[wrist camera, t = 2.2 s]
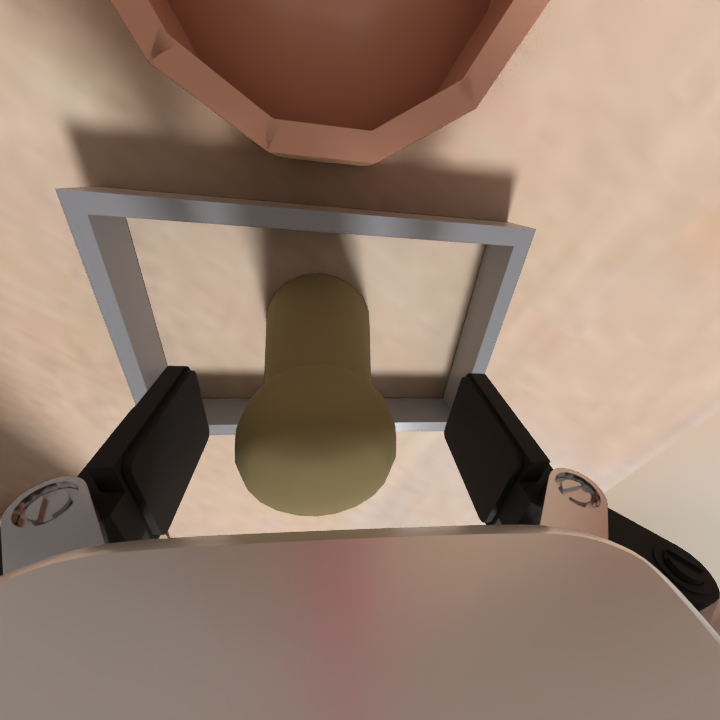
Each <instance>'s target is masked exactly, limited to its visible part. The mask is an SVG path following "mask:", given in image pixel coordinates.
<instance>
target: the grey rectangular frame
mask: <svg viewBox="0 0 720 720" xmlns="http://www.w3.org/2000/svg"><path fill="white" fill-rule="evenodd" d="M55 190H56V192H57V195H58V198H59V200H60V203H61V206H62V208H63V211H64V214H65V216H66V219H67V222H68V225H69V227H70V230H71V233H72V235H73V238H74V241H75V243H76V246H77V249H78V251H79V254H80V257H81V259H82V262H83V265H84V267H85V270H86V273H87V275H88V278H89V281H90V283H91V286H92V289H93V291H94V294H95V297H96V300H97V302H98V305H99V308H100V310H101V313H102V316H103V318H104V321H105V324H106V326H107V329H108V332H109V334H110V337H111V340H112V342H113V345H114V348H115V350H116V353H117V356H118V358H119V361H120V364H121V366H122V369H123V372H124V375H125V377H126V380H127V383H128V385H129V388H130V391H131V393H132V396H133V399H134V401H135V404H137V403H138V402H139V401H140V400H141V398H142V397H143V396H144V395H145V393H146V392H147V391H148V390H149V388H150V387H151V386H152V385H153V383H154V382H155V381H156V380H157V378H158V377H159V376H160V375H161V373H162V372H163V371H164V370H165V368H166V367H167V363H166V360H165V356H164V353H163V349H162V345H161V342H160V338H159V335H158V331H157V328H156V324H155V321H154V317H153V313H152V310H151V306H150V303H149V299H148V296H147V292H146V289H145V285H144V282H143V278H142V274H141V271H140V267H139V264H138V260H137V257H136V253H135V250H134V246H133V243H132V239H131V235H130V232H129V228H128V225H127V221H126V218H125V217H129V218H143V219H156V220H169V221H183V222H196V223H210V224H223V225H236V226H250V227H263V228H276V229H290V230H303V231H316V232H330V233H343V234H357V235H370V236H383V237H397V238H410V239H423V240H437V241H450V242H464V243H477V244H487V246H486V249H485V253H484V256H483V260H482V263H481V267H480V270H479V274H478V277H477V281H476V284H475V288H474V291H473V295H472V298H471V302H470V305H469V309H468V312H467V316H466V319H465V323H464V326H463V330H462V333H461V337H460V340H459V344H458V347H457V351H456V354H455V358H454V361H453V365H452V368H451V372H450V375H449V379H448V382H447V386H446V389H445V393H444V396H443V398H384V400H385V402H386V404H387V406H388V408H389V410H390V412H391V414H392V417H393V420H394V423H395V426H396V432H415V431H444V430H445V426H446V423H447V420H448V417H449V414H450V411H451V408H452V405H453V402H454V399H455V396H456V393H457V390H458V387H459V384H460V381H461V378H462V377H465V376H466V375H467V374H468V373H482V374H485V371H486V368H487V366H488V363H489V360H490V357H491V354H492V352H493V349H494V346H495V343H496V340H497V337H498V335H499V332H500V329H501V326H502V323H503V321H504V318H505V315H506V312H507V309H508V307H509V304H510V301H511V298H512V295H513V293H514V290H515V287H516V284H517V281H518V278H519V276H520V273H521V270H522V267H523V264H524V262H525V259H526V256H527V253H528V250H529V248H530V245H531V242H532V239H533V236H534V233H535V231H536V229H533V228H529V227H525V226H521V225H517V224H513V223H509V222H501V221H489V220H478V219H466V218H454V217H443V216H431V215H420V214H408V213H397V212H385V211H374V210H362V209H351V208H339V207H327V206H316V205H304V204H293V203H281V202H270V201H258V200H247V199H235V198H224V197H212V196H200V195H189V194H177V193H166V192H154V191H143V190H131V189H120V188H108V187H80V188H61V189H55ZM249 400H250V398H202V401H203V405H204V409H205V413H206V417H207V421H208V425H209V435H236V428H237V425H238V422H239V419H240V417H241V415H242V413H243V411H244V409H245V407H246V405H247V404H248V402H249Z"/></svg>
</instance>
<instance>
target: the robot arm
mask: <svg viewBox="0 0 720 720" xmlns="http://www.w3.org/2000/svg"><path fill="white" fill-rule="evenodd" d="M444 435H445V439H446V442H447V444H448V446H449V449H450V451H451V453H452V456H453V458H454V460H455V463H456V465H457V467H458V470H459V472H460V474H461V477H462V479H463V481H464V484H465V486H466V488H467V491H468V493H469V495H470V498H471V500H472V502H473V505H474V507H475V509H476V512H477V514H478V516H479V518H480V520H481V521H482V522H483V523H484V522H485V523H486V525H469V526H440V527H411V528H383V529H357V530H332V531H307V532H284V533H262V534H239V535H217V536H197V537H181V538H168V537H167V535H166V533H167V531H168V529H169V527H170V525H171V523H172V521H173V518H174V516H175V514H176V511H177V509H178V507H179V505H180V502H181V500H182V498H183V495H184V493H185V491H186V489H187V486H188V484H189V482H190V480H191V477H192V475H193V473H194V470H195V468H196V466H197V464H198V461H199V459H200V457H201V454H202V452H203V450H204V448H205V445H206V443H207V441H208V438H209V425H208V421H207V417H206V413H205V409H204V405H203V401H202V397H201V393H200V388H199V384H198V380H197V376H196V373H195V371H190V369H189V367H187V366H168V367H166V368H165V370H164V371H163V372H162V373H161V375H160V376H159V377H158V378H157V380H156V381H155V382H154V383H153V385H152V386H151V387H150V388H149V390H148V391H147V392H146V393H145V395H144V396H143V397H142V398H141V400H140V401H139V402H138V403H137V404H136V406H135V407H134V408H133V409H132V410H131V411H130V412H129V413H128V414H127V416H126V417H125V418H124V419H123V421H122V422H121V423H120V424H119V426H118V427H117V428H116V429H115V431H114V432H113V433H112V434H111V435H110V437H109V438H108V439H107V440H106V442H105V443H104V444H103V445H102V447H101V448H100V449H99V450H98V452H97V453H96V454H95V455H94V457H93V458H92V459H91V460H90V462H89V463H88V464H87V465H86V466H85V468H84V469H83V470H82V471H81V473H80V474H79V475H78V476H77V477H76V476H64V477H58V478H54V479H51V480H48V481H45V482H42V483H40V484H38V485H36V486H34V487H32V488H30V489H29V490H27V491H26V492H25V493H23V494H22V495H20V496H19V497H18V498H17V499H16V500H15V501H13V502H12V503H11V504H10V505H9V506H8V508H7V509H6V511H5V512H4V514H3V515H2V517H1V518H0V720H720V592H719V589H718V586H717V584H716V582H715V580H714V579H713V577H712V576H711V574H710V573H709V572H708V570H707V569H706V568H705V567H704V566H703V565H702V564H701V563H700V562H699V561H698V560H696V559H695V558H694V557H693V556H692V555H691V554H689V553H688V552H686V551H685V550H683V549H682V548H680V547H678V546H677V545H675V544H673V543H671V542H669V541H668V540H666V539H664V538H662V537H660V536H658V535H657V534H654V533H653V532H651V531H649V530H648V529H646V528H644V527H642V526H640V525H638V524H636V523H635V522H633V521H631V520H629V519H628V518H626V517H624V516H622V515H620V514H618V513H617V512H615V511H613V510H611V509H609V508H608V504H607V499H606V497H605V495H604V493H603V492H602V490H601V489H600V488H599V487H598V486H597V485H596V484H595V483H594V482H593V481H592V480H590V479H589V478H588V477H586V476H584V475H582V474H581V473H579V472H576V471H574V470H571V469H566V468H556V469H554V470H553V469H552V467H551V466H550V464H549V463H550V460H549V459H548V458H547V456H546V455H545V454H544V452H543V451H542V450H541V448H540V447H539V445H538V444H537V443H536V441H535V440H534V439H533V437H532V436H531V435H530V433H529V432H528V431H527V429H526V428H525V427H524V425H523V424H522V423H521V421H520V420H519V419H518V417H517V416H516V415H515V413H514V412H513V411H512V409H511V408H510V407H509V405H508V404H507V403H506V401H505V400H504V399H503V397H502V396H501V395H500V393H499V392H498V391H497V389H496V388H495V387H494V385H493V384H492V383H491V381H490V380H489V379H488V377H487V376H486V375H485V374H482V373H468V374H467V375H466V376H465V377H462V378H461V381H460V384H459V387H458V390H457V393H456V396H455V399H454V402H453V405H452V408H451V411H450V414H449V417H448V420H447V423H446V426H445V430H444Z"/></svg>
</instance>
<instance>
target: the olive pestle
mask: <svg viewBox="0 0 720 720" xmlns="http://www.w3.org/2000/svg"><path fill="white" fill-rule="evenodd" d="M395 457H396V426H395V423H394V420H393V417H392V414H391V412H390V410H389V408H388V406H387V404H386V402H385V400H384V398H383V396H382V395H381V394H380V392H379V391H378V390H377V389H376V388H375V387H374V386H373V385H372V384H371V366H370V326H369V311H368V309H367V307H366V304H365V302H364V300H363V297H362V296H361V295H360V294H359V293H358V292H357V291H356V289H355V288H354V287H353V286H352V285H350V284H349V283H347V282H345V281H343V280H341V279H340V278H338V277H335V276H330V275H325V274H320V273H319V274H309V275H302V276H300V277H297V278H295V279H293V280H291V281H289V282H287V283H286V284H284V285H283V286H282V287H281V288H280V289H279V290H278V291H277V292H276V293H275V294H274V296H273V299H272V301H271V303H270V305H269V307H268V312H267V323H266V348H265V372H264V384H263V385H262V386H261V387H260V388H259V389H258V390H257V391H256V392H255V393H254V395H253V396H252V397H251V398H250V400H249V402H248V404H247V405H246V407H245V409H244V411H243V413H242V415H241V417H240V419H239V422H238V425H237V428H236V436H235V463H236V466H237V468H238V470H239V472H240V475H241V477H242V479H243V481H244V483H245V485H246V487H247V489H248V491H249V492H250V493H251V494H252V495H253V496H255V497H256V498H257V499H258V500H259V501H260V502H261V503H263V504H265V505H267V506H269V507H271V508H273V509H275V510H277V511H281V512H286V513H290V514H294V515H299V516H322V515H329V514H336V513H339V512H342V511H344V510H347V509H350V508H353V507H356V506H358V505H359V504H361V503H362V502H364V501H366V500H367V499H369V498H370V497H372V496H373V495H374V494H375V493H376V492H377V491H378V490H379V489H380V488H381V486H382V485H383V484H384V483H385V480H386V478H387V476H388V474H389V472H390V469H391V467H392V464H393V462H394V460H395Z"/></svg>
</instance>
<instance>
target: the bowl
mask: <svg viewBox="0 0 720 720" xmlns="http://www.w3.org/2000/svg"><path fill="white" fill-rule="evenodd" d="M110 1H111V3H112V4H113V6H114V7H115V9H116V11H117V12H118V14H119V15H120V17H121V19H122V20H123V22H124V24H125V25H126V27H127V28H128V30H129V32H130V33H131V35H132V36H133V38H134V40H135V41H136V43H137V44H138V46H139V48H140V49H141V51H142V52H143V54H144V56H145V57H146V59H147V61H148V62H149V63H150V64H152V65H153V66H154V67H156V68H157V69H158V70H160V71H161V72H162V73H164V74H165V75H166V76H168V77H169V78H170V79H172V80H173V81H174V82H175V83H177V84H178V85H179V86H181V87H182V88H183V89H185V90H186V91H187V92H189V93H190V94H191V95H193V96H194V97H195V98H197V99H198V100H199V101H201V102H202V103H203V104H205V105H206V106H207V107H209V108H210V109H211V110H213V111H214V112H215V113H217V114H218V115H219V116H221V117H222V118H223V119H225V120H226V121H227V122H229V123H230V124H231V125H233V126H234V127H235V128H237V129H238V130H239V131H241V132H242V133H243V134H245V135H246V136H247V137H248V138H250V139H251V140H252V141H254V142H255V143H256V144H258V145H259V146H260V147H262V148H263V149H264V150H266V151H267V152H269V153H271V154H274V155H276V156H278V157H281V158H290V159H300V160H309V161H318V162H328V163H337V164H347V165H356V166H366V165H371V164H376V163H378V162H380V161H381V160H383V159H385V158H387V157H389V156H390V155H392V154H394V153H396V152H398V151H399V150H401V149H403V148H405V147H407V146H409V145H410V144H412V143H414V142H416V141H418V140H419V139H421V138H423V137H425V136H427V135H428V134H430V133H432V132H434V131H436V130H438V129H439V128H441V127H443V126H445V125H447V124H448V123H450V122H452V121H454V120H456V119H457V118H459V117H461V116H463V115H465V114H467V113H468V112H470V111H472V110H474V109H476V107H477V106H478V105H479V103H480V102H481V100H482V99H483V97H484V96H485V94H486V93H487V91H488V90H489V88H490V87H491V86H492V84H493V83H494V81H495V80H496V78H497V77H498V75H499V74H500V72H501V71H502V69H503V68H504V66H505V65H506V64H507V62H508V61H509V59H510V58H511V56H512V55H513V53H514V52H515V50H516V49H517V47H518V46H519V45H520V43H521V42H522V40H523V39H524V37H525V36H526V34H527V33H528V31H529V30H530V28H531V27H532V26H533V24H534V23H535V21H536V20H537V18H538V17H539V15H540V14H541V12H542V11H543V9H544V8H545V7H546V5H547V4H548V2H549V1H550V0H110Z"/></svg>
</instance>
